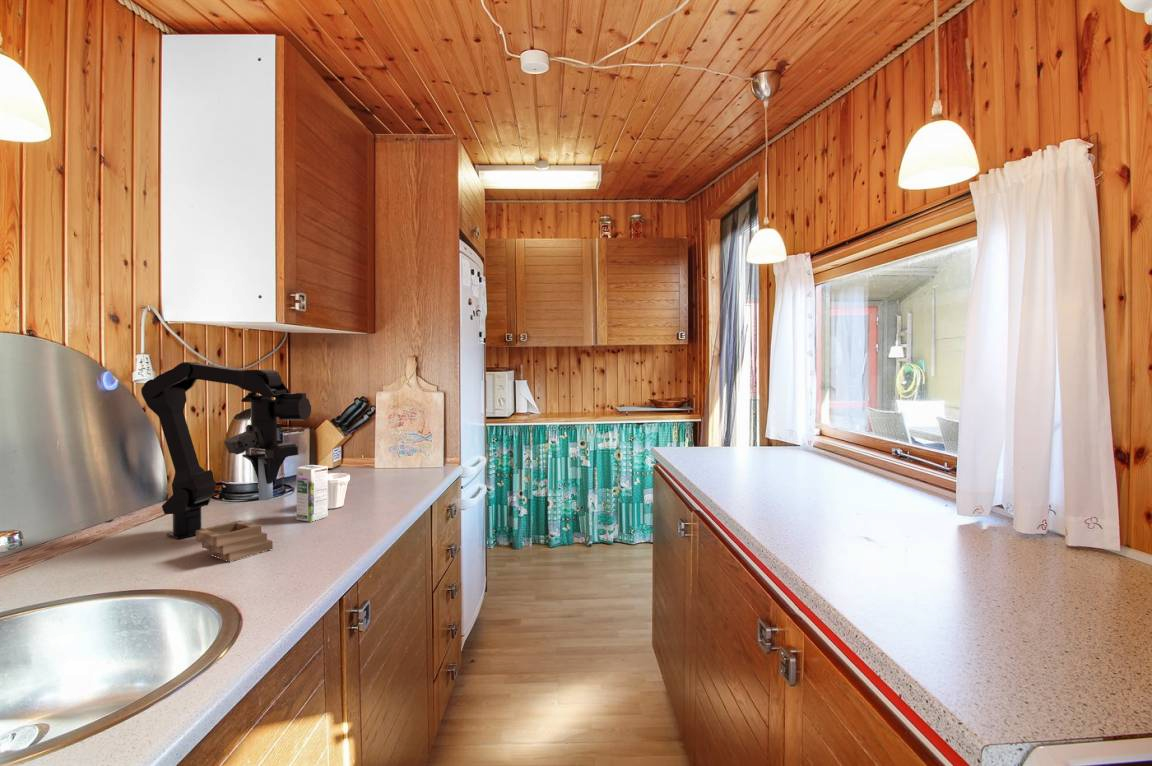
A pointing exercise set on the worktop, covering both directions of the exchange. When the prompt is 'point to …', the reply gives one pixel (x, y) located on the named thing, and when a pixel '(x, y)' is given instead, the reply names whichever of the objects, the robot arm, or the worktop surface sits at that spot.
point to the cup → (337, 489)
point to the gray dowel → (264, 484)
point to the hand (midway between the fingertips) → (265, 482)
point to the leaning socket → (234, 540)
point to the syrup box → (312, 492)
